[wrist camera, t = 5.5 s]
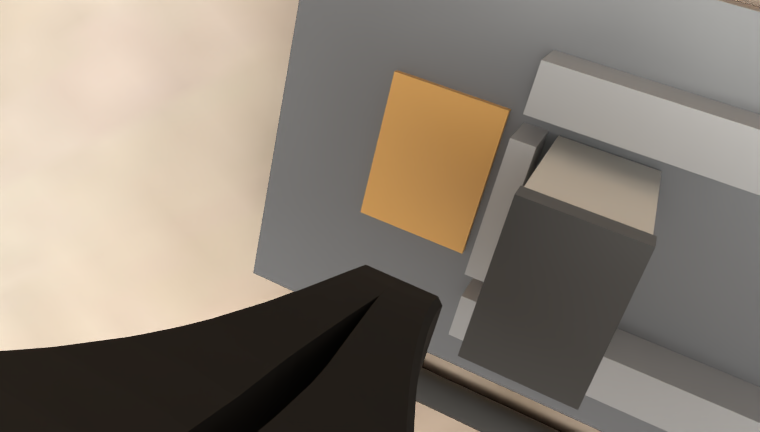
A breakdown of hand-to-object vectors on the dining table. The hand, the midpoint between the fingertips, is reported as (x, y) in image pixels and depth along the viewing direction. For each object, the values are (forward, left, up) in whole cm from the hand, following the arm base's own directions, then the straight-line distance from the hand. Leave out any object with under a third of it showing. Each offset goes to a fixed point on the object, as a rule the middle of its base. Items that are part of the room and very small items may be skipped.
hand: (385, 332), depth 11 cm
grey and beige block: (-2, 0, -8) cm, 8 cm away
